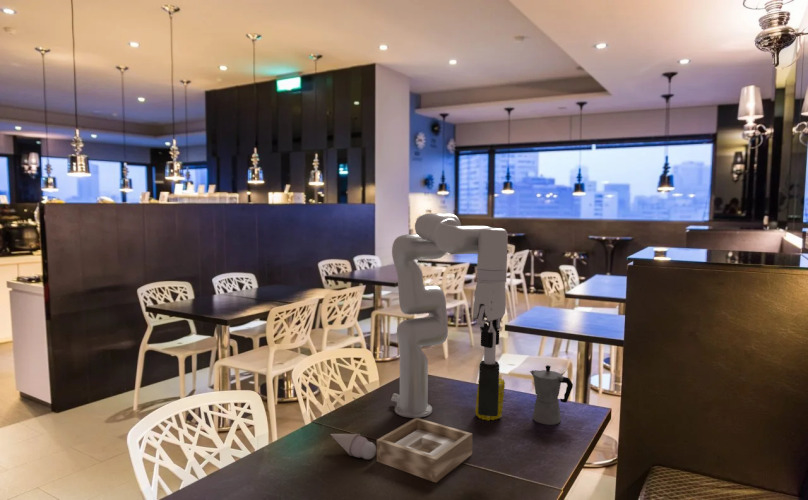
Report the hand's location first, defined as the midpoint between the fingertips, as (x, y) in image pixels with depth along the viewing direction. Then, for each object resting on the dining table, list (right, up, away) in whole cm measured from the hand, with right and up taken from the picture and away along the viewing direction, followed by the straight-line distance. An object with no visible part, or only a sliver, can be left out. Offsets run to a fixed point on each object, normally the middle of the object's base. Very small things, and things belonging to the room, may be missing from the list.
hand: (489, 344), depth 138 cm
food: (+6, -31, +36) cm, 48 cm away
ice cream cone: (-37, -33, +9) cm, 50 cm away
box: (-17, -33, +8) cm, 37 cm away
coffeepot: (+25, -31, +34) cm, 52 cm away
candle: (0, -18, +2) cm, 18 cm away
